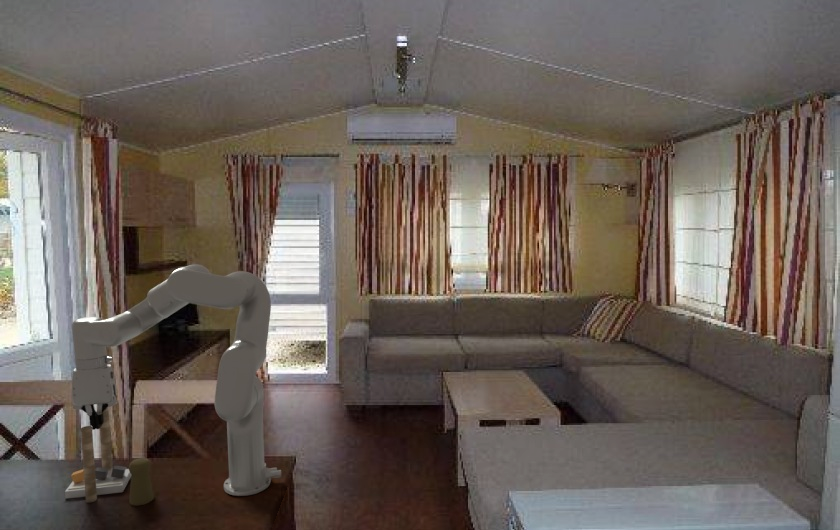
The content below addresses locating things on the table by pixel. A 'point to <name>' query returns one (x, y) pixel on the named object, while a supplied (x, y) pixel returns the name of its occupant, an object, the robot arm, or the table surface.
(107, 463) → the post far
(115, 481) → the panel
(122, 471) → the grey block
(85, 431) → the post near
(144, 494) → the cork
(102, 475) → the grey block
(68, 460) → the table surface
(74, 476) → the orange block
